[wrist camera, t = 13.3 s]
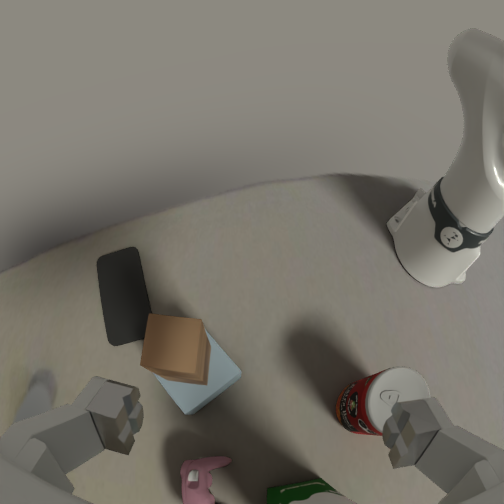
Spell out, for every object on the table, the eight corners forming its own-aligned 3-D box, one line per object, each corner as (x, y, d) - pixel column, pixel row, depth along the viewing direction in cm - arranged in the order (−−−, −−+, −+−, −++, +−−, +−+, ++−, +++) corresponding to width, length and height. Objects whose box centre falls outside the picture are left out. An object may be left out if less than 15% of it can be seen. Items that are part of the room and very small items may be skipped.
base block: (202, 332, 39) (196, 318, 34) (240, 377, 36) (241, 371, 31) (156, 367, 36) (142, 358, 31) (192, 414, 33) (184, 414, 28)
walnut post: (211, 346, 32) (201, 319, 23) (207, 385, 30) (195, 373, 21) (172, 342, 32) (149, 313, 23) (167, 380, 30) (140, 365, 21)
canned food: (335, 379, 36) (368, 365, 26) (387, 380, 36) (431, 364, 26) (330, 434, 32) (364, 438, 22) (384, 432, 32) (429, 431, 22)
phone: (108, 347, 36) (95, 257, 43) (111, 348, 37) (97, 260, 44) (156, 334, 38) (137, 244, 45) (158, 335, 38) (138, 247, 45)
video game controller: (202, 453, 31) (168, 459, 26) (234, 454, 30) (203, 462, 24) (210, 516, 26) (178, 530, 20) (241, 519, 25) (213, 538, 19)
